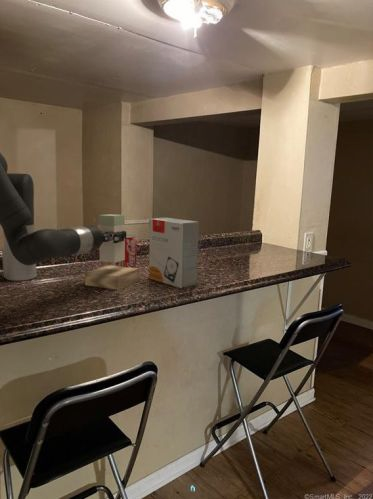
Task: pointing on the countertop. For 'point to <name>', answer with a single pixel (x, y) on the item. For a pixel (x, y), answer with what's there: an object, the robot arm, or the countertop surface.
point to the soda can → (129, 253)
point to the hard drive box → (173, 251)
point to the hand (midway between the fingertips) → (116, 233)
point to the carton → (109, 223)
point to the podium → (112, 277)
